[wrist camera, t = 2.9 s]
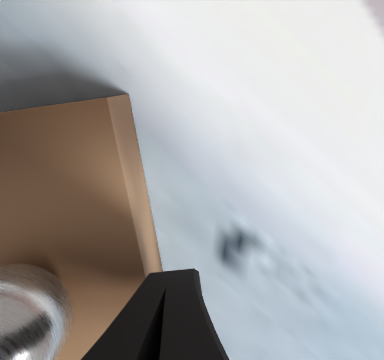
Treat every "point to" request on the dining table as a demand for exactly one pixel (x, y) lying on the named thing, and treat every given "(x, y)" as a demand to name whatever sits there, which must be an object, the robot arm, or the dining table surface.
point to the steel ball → (32, 313)
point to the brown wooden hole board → (78, 207)
